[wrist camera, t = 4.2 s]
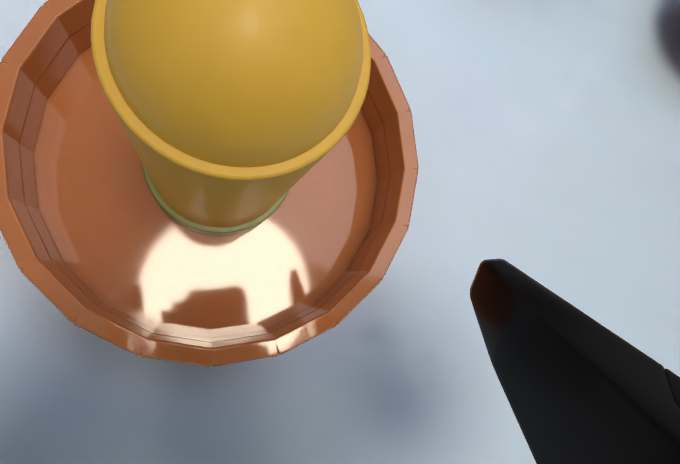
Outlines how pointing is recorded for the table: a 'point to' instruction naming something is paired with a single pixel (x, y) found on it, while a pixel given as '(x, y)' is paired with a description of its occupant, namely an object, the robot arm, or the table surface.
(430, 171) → the table surface
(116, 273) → the pan
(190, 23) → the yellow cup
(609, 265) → the table surface
